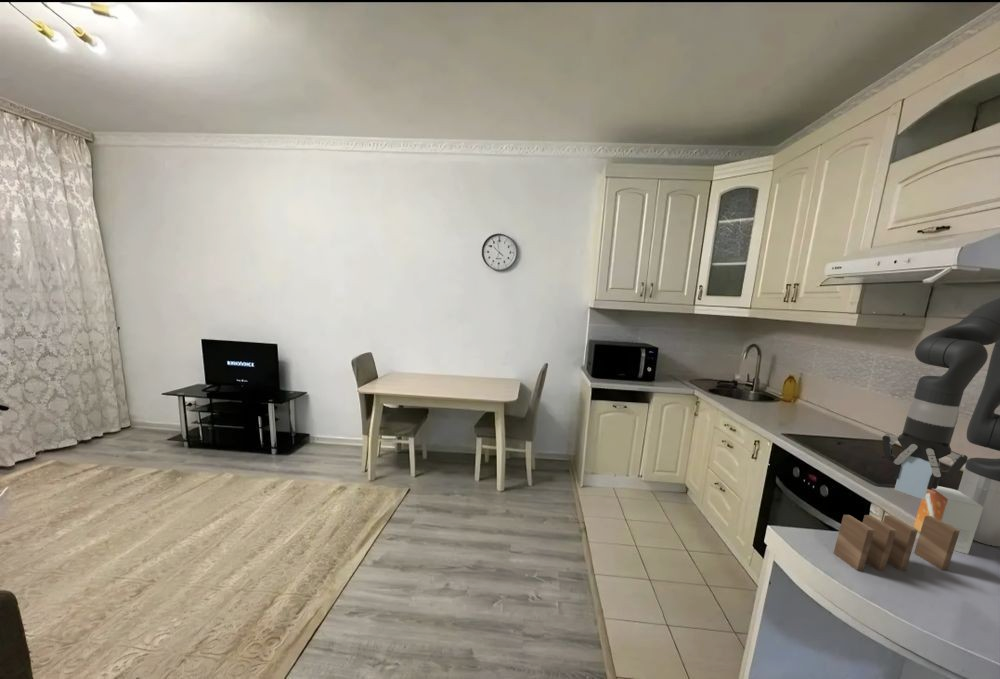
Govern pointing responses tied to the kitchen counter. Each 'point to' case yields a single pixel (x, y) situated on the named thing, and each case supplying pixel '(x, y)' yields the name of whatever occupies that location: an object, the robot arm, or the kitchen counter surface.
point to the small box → (951, 513)
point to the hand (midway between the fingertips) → (912, 482)
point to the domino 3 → (914, 477)
